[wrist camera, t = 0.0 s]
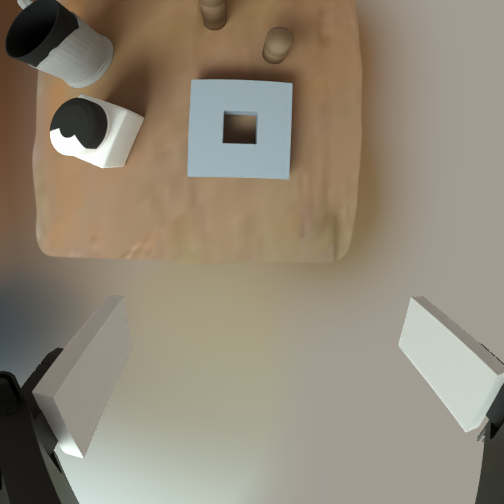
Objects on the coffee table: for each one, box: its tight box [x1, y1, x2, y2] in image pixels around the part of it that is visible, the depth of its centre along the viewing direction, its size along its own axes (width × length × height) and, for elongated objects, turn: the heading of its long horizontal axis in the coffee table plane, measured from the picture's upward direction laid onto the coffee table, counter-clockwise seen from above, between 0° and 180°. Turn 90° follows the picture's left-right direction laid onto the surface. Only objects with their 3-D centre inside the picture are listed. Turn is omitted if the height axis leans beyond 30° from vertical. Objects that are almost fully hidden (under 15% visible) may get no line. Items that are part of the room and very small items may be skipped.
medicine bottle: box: [50, 94, 144, 168], centre depth 30 cm, size 7×7×12 cm
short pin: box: [262, 27, 293, 64], centre depth 31 cm, size 3×3×6 cm
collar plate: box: [188, 79, 293, 179], centre depth 35 cm, size 12×12×3 cm
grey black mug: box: [5, 0, 114, 88], centre depth 24 cm, size 9×14×15 cm, turn 35°
